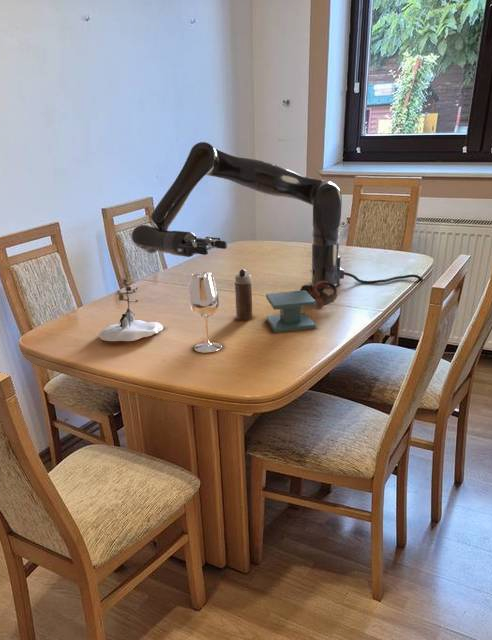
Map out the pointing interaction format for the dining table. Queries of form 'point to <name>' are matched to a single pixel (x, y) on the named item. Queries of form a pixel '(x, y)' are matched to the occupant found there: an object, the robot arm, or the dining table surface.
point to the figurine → (129, 324)
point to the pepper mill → (243, 296)
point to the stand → (290, 311)
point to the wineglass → (204, 305)
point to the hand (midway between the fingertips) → (216, 248)
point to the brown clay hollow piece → (321, 293)
